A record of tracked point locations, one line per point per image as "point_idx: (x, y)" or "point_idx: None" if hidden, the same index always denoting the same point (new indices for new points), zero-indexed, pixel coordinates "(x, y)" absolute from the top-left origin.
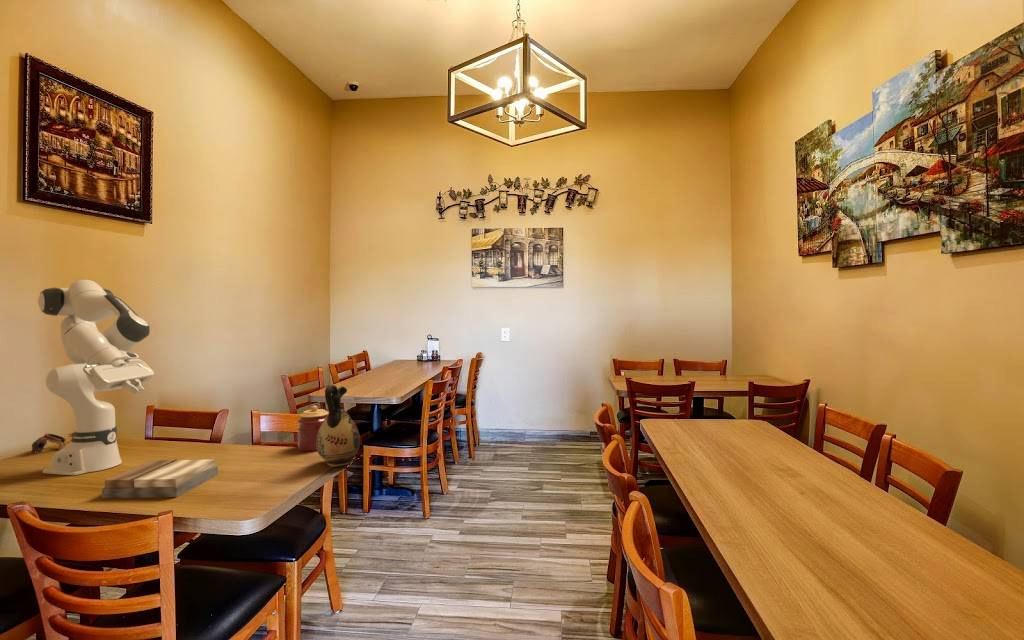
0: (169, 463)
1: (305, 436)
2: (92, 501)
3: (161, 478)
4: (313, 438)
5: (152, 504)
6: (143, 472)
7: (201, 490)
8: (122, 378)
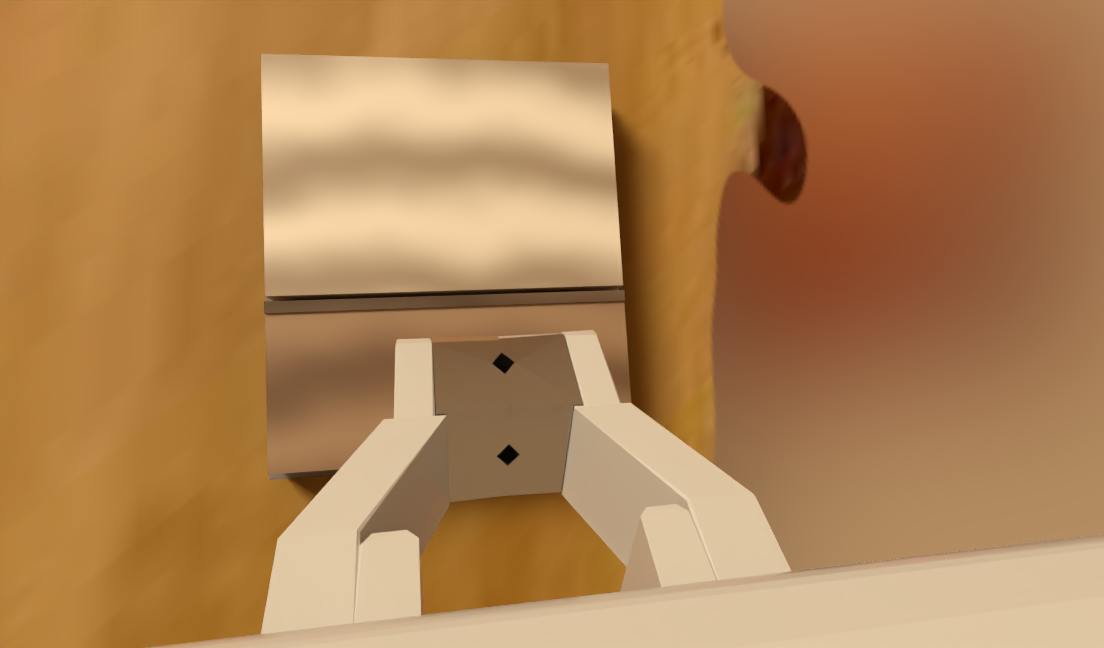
0: (340, 299)
1: None
2: None
3: (602, 145)
4: None
5: (669, 150)
6: (510, 328)
7: (507, 38)
8: (985, 595)
